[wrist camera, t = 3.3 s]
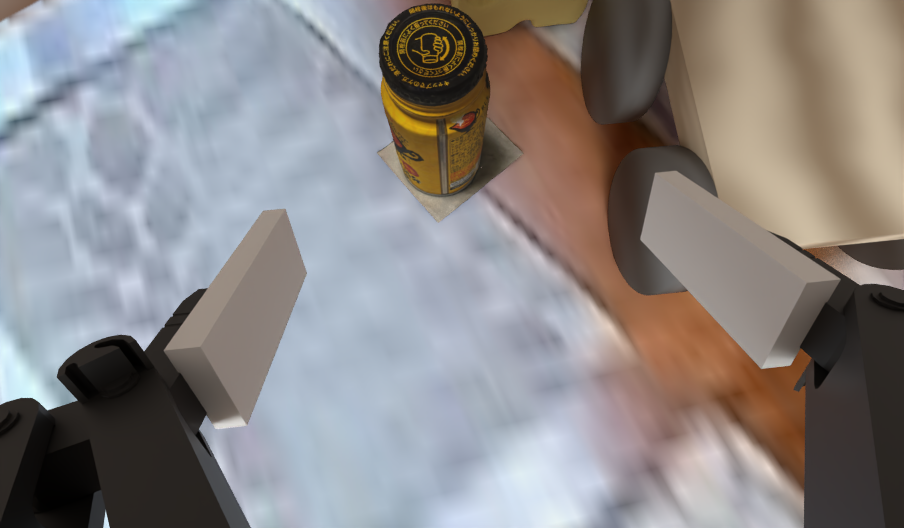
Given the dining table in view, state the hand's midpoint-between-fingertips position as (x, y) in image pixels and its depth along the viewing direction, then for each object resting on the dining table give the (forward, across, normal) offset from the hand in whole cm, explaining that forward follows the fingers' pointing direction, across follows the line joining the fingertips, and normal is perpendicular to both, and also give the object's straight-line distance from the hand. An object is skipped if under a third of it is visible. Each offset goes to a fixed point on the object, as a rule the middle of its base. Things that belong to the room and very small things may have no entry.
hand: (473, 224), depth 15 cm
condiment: (+17, 0, +3) cm, 18 cm away
